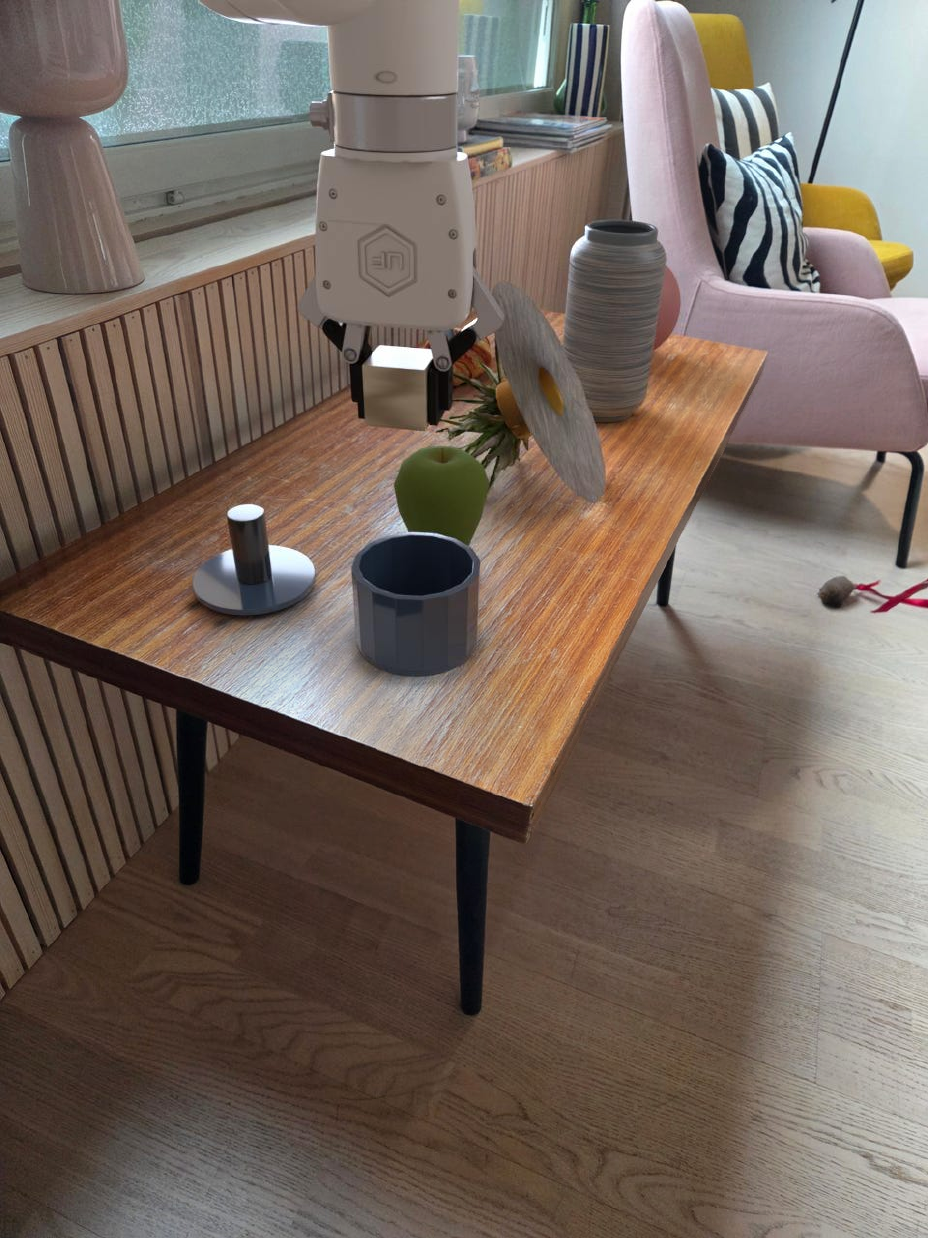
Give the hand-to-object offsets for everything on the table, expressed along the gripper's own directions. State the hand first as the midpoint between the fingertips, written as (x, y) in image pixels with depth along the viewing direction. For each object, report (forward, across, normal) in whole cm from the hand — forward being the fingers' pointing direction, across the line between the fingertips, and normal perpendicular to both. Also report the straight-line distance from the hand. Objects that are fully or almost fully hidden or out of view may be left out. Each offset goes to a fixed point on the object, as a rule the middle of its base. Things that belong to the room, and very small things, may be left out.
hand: (402, 412), depth 62 cm
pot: (+20, +1, -1) cm, 20 cm away
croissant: (+20, -8, +64) cm, 68 cm away
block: (0, 0, 0) cm, 0 cm away
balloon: (+20, +15, +75) cm, 79 cm away
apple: (+20, 0, +13) cm, 24 cm away
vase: (+20, +13, +54) cm, 60 cm away
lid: (+19, -15, +4) cm, 25 cm away
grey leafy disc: (+20, +6, +32) cm, 38 cm away
